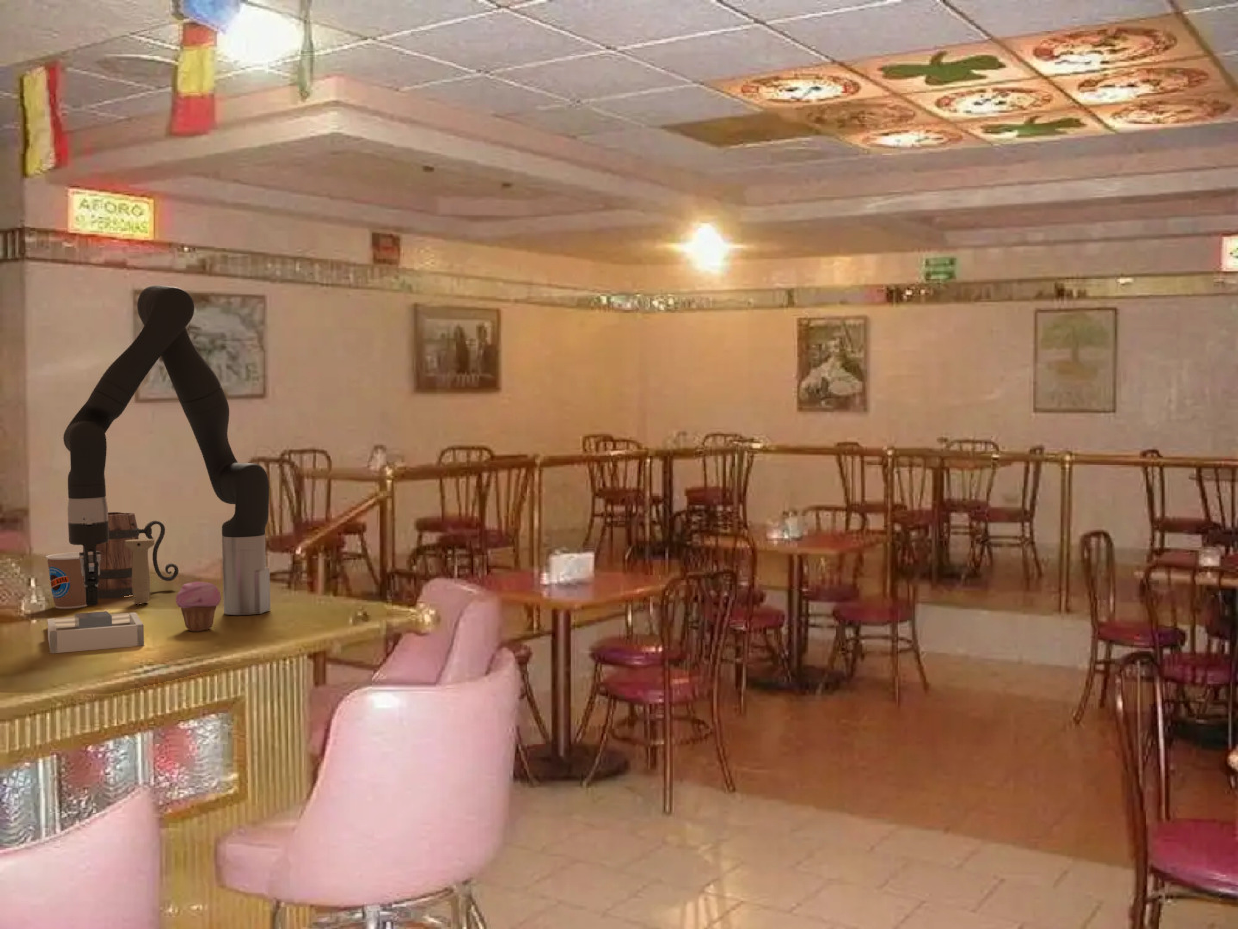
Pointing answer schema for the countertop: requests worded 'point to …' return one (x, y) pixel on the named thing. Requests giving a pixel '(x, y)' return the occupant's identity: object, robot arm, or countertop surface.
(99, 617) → the matte grey cube
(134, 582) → the handle
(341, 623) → the countertop surface
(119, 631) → the box
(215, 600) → the cupcake
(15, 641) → the countertop surface
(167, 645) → the countertop surface
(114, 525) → the tankard
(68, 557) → the coffee cup
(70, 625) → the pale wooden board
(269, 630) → the countertop surface
